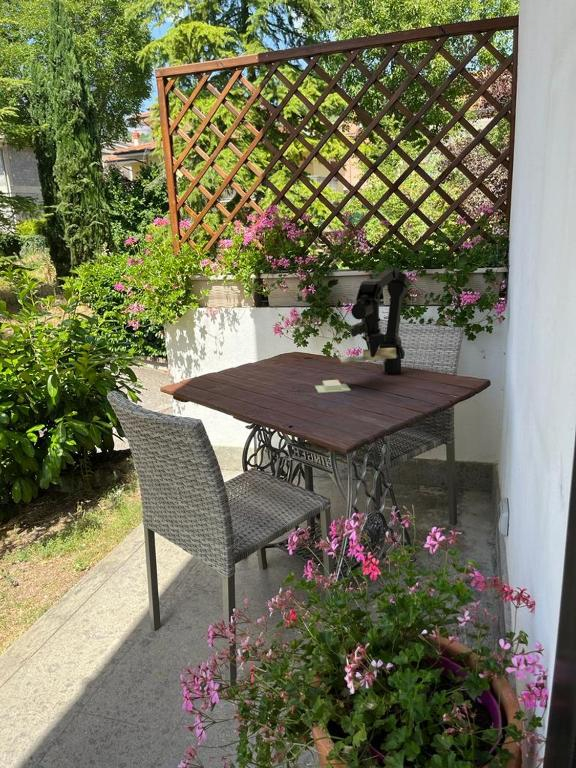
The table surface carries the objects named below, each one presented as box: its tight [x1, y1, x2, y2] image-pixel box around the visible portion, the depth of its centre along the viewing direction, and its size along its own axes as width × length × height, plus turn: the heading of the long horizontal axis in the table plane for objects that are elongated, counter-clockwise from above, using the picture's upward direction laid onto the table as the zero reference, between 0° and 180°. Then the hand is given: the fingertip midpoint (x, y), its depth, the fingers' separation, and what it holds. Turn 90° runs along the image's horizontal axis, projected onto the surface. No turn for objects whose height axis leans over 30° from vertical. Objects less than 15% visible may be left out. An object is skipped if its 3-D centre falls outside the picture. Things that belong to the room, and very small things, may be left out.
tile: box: [321, 379, 342, 390], centre depth 213 cm, size 6×2×8 cm
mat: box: [314, 383, 351, 394], centre depth 213 cm, size 12×9×1 cm
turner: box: [338, 348, 396, 364], centre depth 213 cm, size 21×7×4 cm, turn 95°
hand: (371, 356), depth 214 cm, fingers closed on turner, 3 cm apart
